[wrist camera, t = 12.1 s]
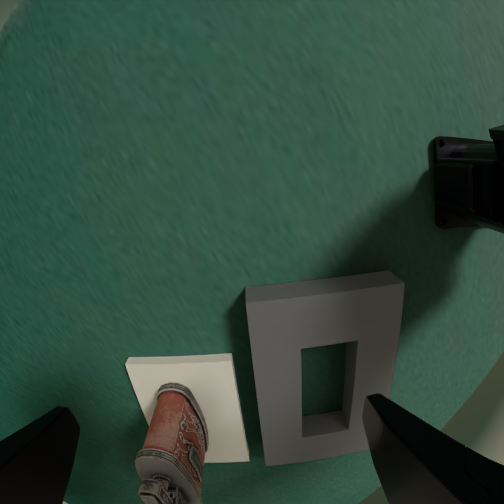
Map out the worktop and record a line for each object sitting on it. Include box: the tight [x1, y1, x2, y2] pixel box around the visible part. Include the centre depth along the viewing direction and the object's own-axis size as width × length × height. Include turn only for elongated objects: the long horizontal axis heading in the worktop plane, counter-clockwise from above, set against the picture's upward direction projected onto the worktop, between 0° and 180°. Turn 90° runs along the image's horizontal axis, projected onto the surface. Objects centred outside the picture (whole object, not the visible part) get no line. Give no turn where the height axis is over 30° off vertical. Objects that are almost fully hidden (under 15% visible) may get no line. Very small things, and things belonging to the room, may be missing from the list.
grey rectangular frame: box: [245, 270, 405, 466], centre depth 22 cm, size 10×16×2 cm, turn 5°
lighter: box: [135, 382, 209, 504], centre depth 18 cm, size 8×3×10 cm, turn 8°
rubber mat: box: [125, 353, 249, 463], centre depth 23 cm, size 8×12×1 cm, turn 6°
